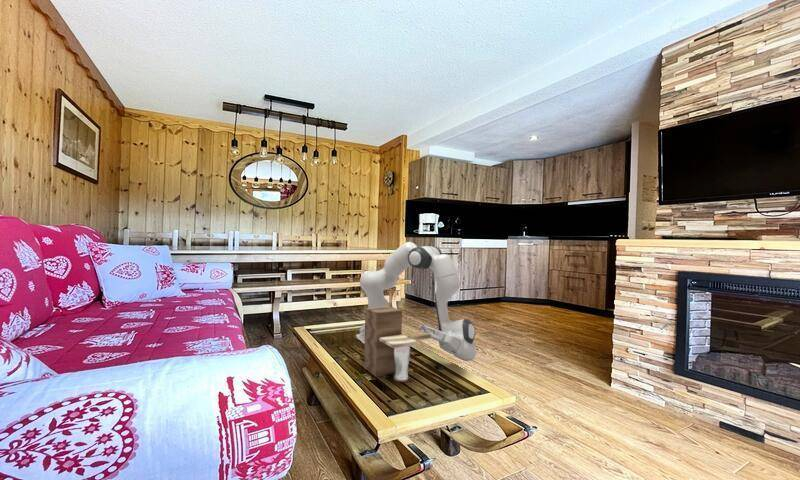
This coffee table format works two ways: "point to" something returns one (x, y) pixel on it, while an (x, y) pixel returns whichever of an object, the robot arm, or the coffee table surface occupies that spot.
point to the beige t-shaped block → (403, 339)
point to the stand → (377, 326)
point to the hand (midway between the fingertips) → (427, 329)
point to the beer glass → (401, 363)
